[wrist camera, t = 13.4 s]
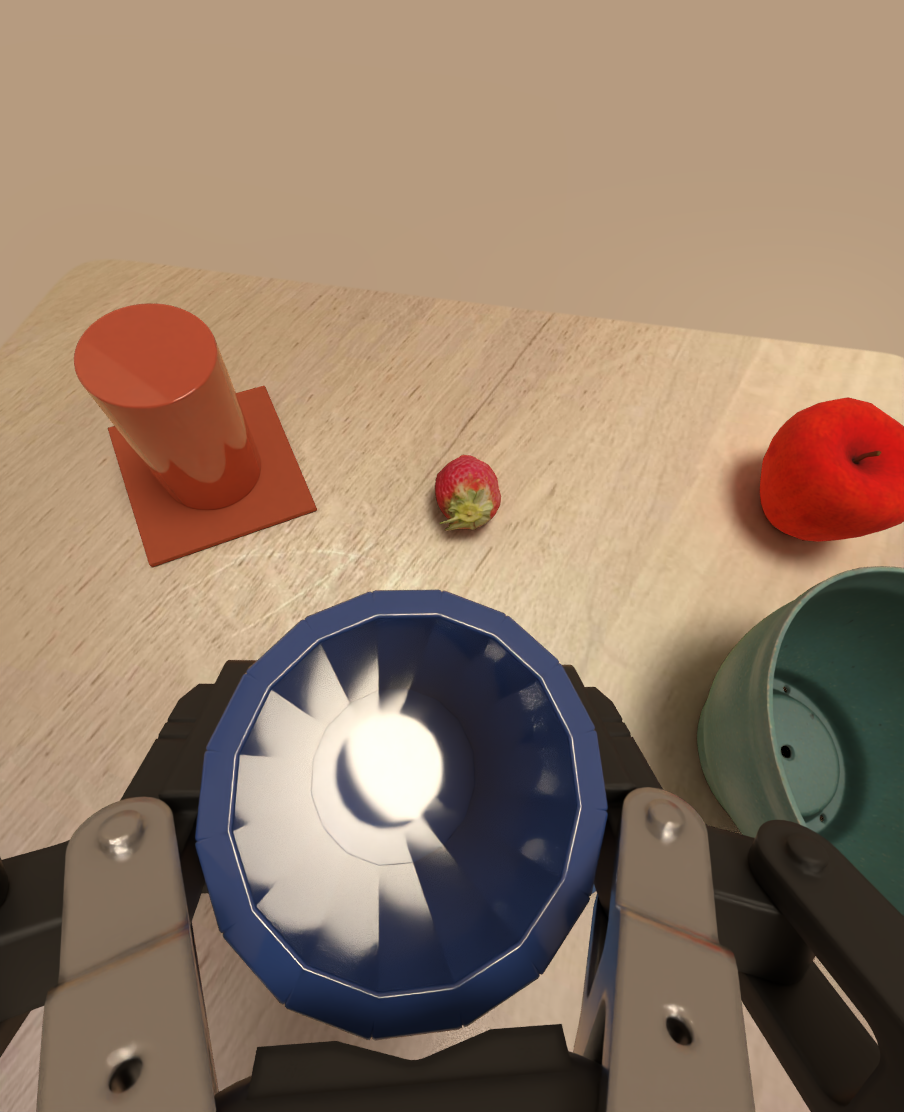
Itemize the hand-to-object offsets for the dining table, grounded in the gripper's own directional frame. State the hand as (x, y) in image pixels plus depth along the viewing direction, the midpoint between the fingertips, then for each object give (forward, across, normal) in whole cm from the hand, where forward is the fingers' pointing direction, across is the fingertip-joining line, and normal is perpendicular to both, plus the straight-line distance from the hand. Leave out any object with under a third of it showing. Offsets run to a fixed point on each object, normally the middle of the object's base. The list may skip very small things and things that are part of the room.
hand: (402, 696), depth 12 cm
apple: (+24, -28, +2) cm, 37 cm away
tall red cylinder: (+24, +12, +1) cm, 27 cm away
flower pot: (+12, -23, +14) cm, 29 cm away
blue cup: (+3, 0, +6) cm, 6 cm away
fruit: (+23, -4, +3) cm, 24 cm away
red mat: (+24, +12, +2) cm, 27 cm away
